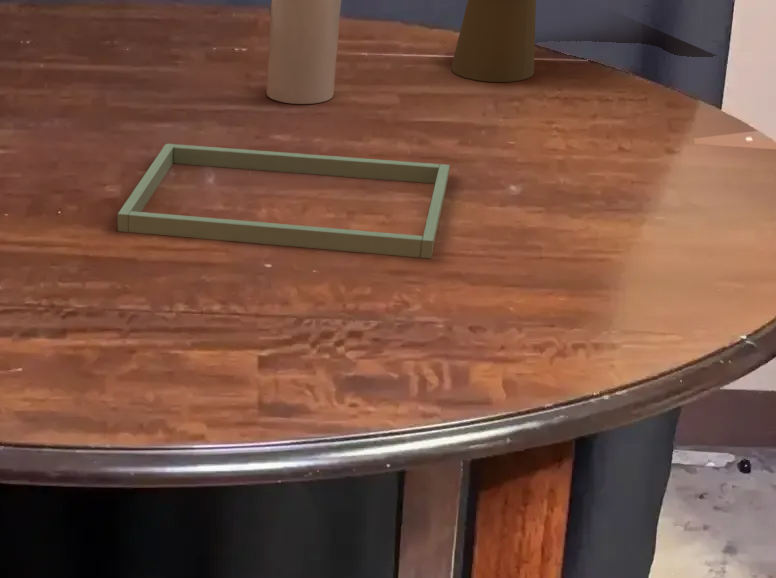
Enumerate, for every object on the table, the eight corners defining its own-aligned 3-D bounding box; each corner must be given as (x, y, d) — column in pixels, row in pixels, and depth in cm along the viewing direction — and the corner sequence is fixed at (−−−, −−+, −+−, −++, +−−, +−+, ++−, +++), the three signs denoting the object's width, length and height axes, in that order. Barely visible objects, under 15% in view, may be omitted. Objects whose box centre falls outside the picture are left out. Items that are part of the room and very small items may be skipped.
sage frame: (445, 199, 90) (449, 164, 89) (428, 278, 81) (433, 240, 80) (165, 176, 94) (165, 143, 93) (117, 249, 84) (117, 213, 83)
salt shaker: (338, 86, 109) (350, -76, 103) (329, 106, 105) (342, -61, 99) (272, 82, 110) (280, -79, 104) (261, 101, 106) (269, -65, 100)
